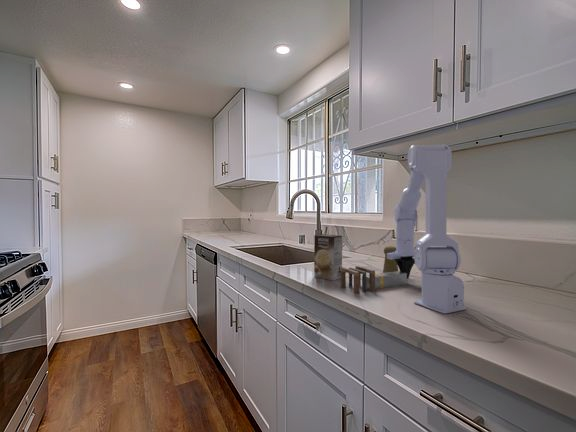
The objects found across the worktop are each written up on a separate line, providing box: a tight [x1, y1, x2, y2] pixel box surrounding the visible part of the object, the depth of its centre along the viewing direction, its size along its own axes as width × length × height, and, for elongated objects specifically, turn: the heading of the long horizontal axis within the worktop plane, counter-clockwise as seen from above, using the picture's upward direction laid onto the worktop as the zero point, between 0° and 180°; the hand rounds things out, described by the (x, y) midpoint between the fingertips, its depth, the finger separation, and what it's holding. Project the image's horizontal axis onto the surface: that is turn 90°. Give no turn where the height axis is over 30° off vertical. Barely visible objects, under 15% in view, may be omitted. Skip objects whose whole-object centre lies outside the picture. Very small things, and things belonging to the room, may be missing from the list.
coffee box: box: [313, 233, 343, 281], centre depth 110 cm, size 9×6×16 cm
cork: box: [382, 246, 399, 273], centre depth 114 cm, size 6×6×11 cm
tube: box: [361, 270, 408, 290], centre depth 98 cm, size 16×4×4 cm, turn 115°
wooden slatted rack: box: [339, 265, 376, 295], centre depth 93 cm, size 8×7×6 cm
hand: (405, 278), depth 101 cm, fingers closed
